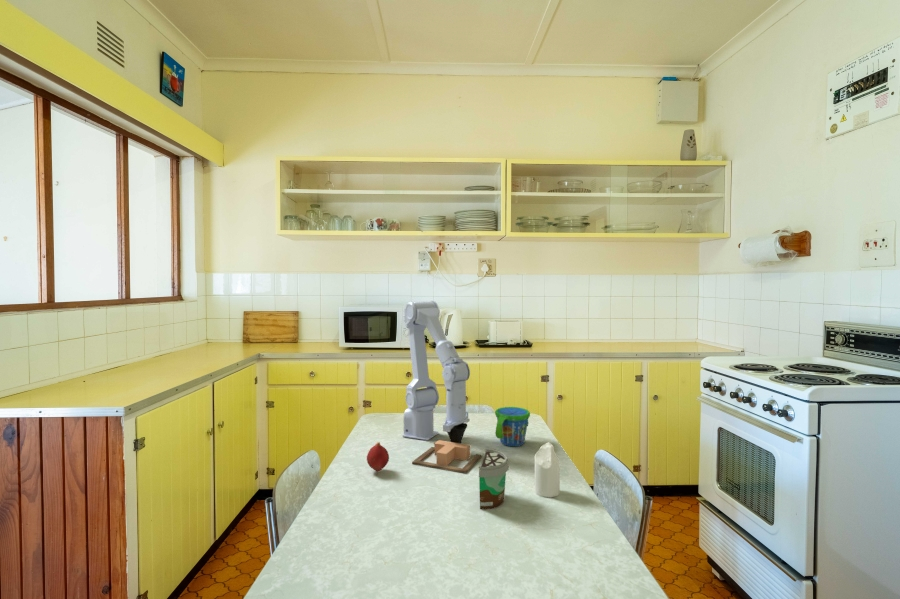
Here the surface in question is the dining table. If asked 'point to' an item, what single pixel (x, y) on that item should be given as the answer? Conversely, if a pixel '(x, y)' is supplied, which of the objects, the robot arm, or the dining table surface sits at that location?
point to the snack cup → (512, 425)
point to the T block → (450, 451)
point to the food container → (492, 479)
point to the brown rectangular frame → (445, 467)
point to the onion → (377, 457)
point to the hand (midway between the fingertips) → (456, 448)
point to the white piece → (547, 471)
